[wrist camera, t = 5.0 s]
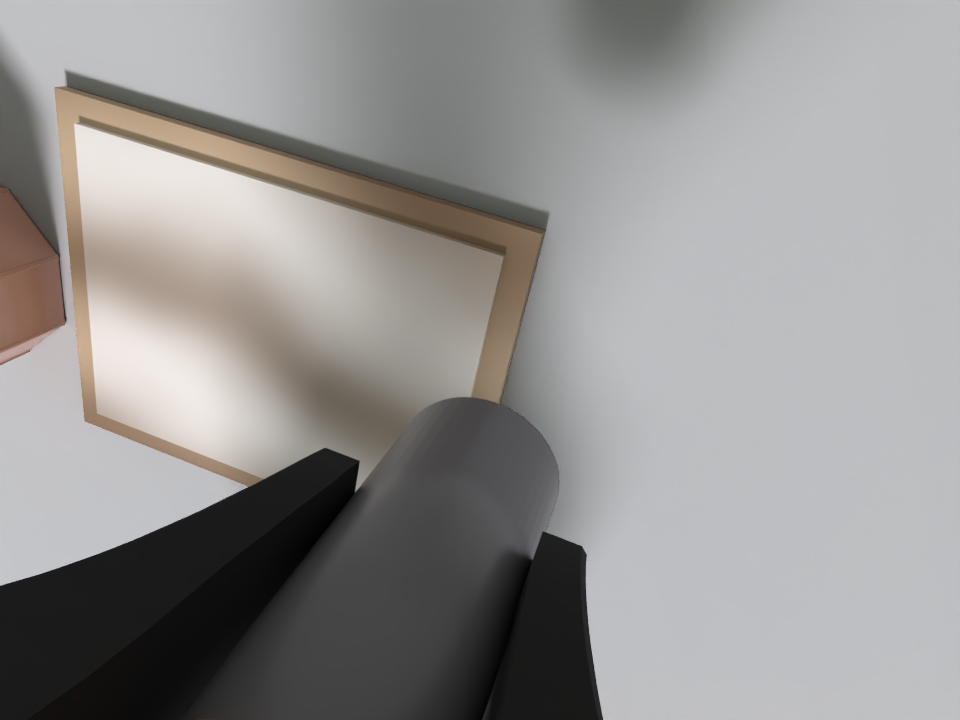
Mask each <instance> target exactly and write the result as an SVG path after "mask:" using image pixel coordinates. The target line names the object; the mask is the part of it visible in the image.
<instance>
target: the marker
mask: <svg viewBox="0 0 960 720" xmlns="http://www.w3.org/2000/svg"><path fill="white" fill-rule="evenodd" d="M558 492H559V471H558V467H557V463H556V460H555V457H554V454H553V452H552V450H551V449H550V447H549V445H548V443H547V442H546V440H545V439H544V437H543V436H542V435H541V434H540V432H539V431H538V430H537V429H536V428H535V427H534V426H533V425H532V424H531V423H530V422H529V421H527V420H526V419H525V418H524V417H522V416H521V415H519V414H518V413H516V412H515V411H513V410H511V409H509V408H507V407H505V406H503V405H501V404H498V403H496V402H492V401H489V400H486V399H480V398H474V397H456V398H449V399H444V400H441V401H438V402H436V403H433V404H431V405H429V406H428V407H426V408H424V409H423V410H422V411H421V412H419V413H418V414H417V415H416V416H415V417H414V418H413V419H412V421H411V422H410V423H409V425H408V426H407V427H406V428H405V430H404V431H403V432H402V433H401V435H400V436H399V437H398V439H397V440H396V441H395V442H394V444H393V445H392V446H391V447H390V449H389V450H388V451H387V453H386V454H385V455H384V456H383V458H382V459H381V460H380V462H379V463H378V464H377V465H376V467H375V468H374V469H373V470H372V472H371V473H370V474H369V476H368V477H367V478H366V479H365V481H364V482H363V483H362V484H361V486H360V487H359V488H358V490H357V491H356V492H355V493H354V495H353V496H352V497H351V498H350V500H349V501H348V502H347V504H346V505H345V506H344V507H343V509H342V510H341V511H340V513H339V514H338V515H337V516H336V518H335V519H334V520H333V521H332V523H331V524H330V525H329V527H328V528H327V529H326V530H325V532H324V533H323V534H322V535H321V537H320V538H319V539H318V541H317V542H316V543H315V544H314V546H313V547H312V548H311V550H310V551H309V552H308V553H307V555H306V556H305V557H304V558H303V560H302V561H301V562H300V564H299V565H298V566H297V567H296V569H295V570H294V571H293V572H292V574H291V575H290V576H289V578H288V579H287V580H286V581H285V583H284V584H283V585H282V586H281V588H280V589H279V590H278V592H277V593H276V594H275V595H274V597H273V598H272V599H271V601H270V602H269V603H268V604H267V606H266V607H265V608H264V609H263V611H262V612H261V613H260V615H259V616H258V617H257V618H256V620H255V621H254V622H253V623H252V625H251V626H250V627H249V629H248V630H247V631H246V632H245V634H244V635H243V636H242V638H241V639H240V640H239V641H238V643H237V644H236V645H235V646H234V648H233V649H232V650H231V652H230V653H229V654H228V655H227V657H226V658H225V659H224V660H223V662H222V663H221V664H220V666H219V667H218V668H217V669H216V671H215V672H214V673H213V674H212V676H211V677H210V678H209V680H208V681H207V682H206V683H205V685H204V686H203V687H202V689H201V690H200V691H199V692H198V694H197V695H196V696H195V697H194V699H193V700H192V701H191V703H190V704H189V705H188V706H187V708H186V709H185V710H184V711H183V713H182V714H181V715H180V717H179V718H178V719H177V720H482V719H483V716H484V713H485V710H486V707H487V704H488V701H489V698H490V696H491V693H492V690H493V687H494V684H495V681H496V678H497V675H498V672H499V669H500V666H501V663H502V659H503V656H504V652H505V649H506V645H507V642H508V638H509V634H510V630H511V626H512V622H513V618H514V614H515V610H516V607H517V604H518V601H519V598H520V595H521V592H522V590H523V587H524V584H525V581H526V578H527V575H528V572H529V569H530V566H531V563H532V560H533V558H534V555H535V552H536V549H537V546H538V543H539V540H540V537H541V535H542V532H543V531H544V532H546V530H547V527H548V524H549V521H550V518H551V515H552V512H553V509H554V506H555V503H556V500H557V496H558Z"/></svg>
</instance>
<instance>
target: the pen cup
mask: <svg viewBox="0 0 960 720" xmlns="http://www.w3.org/2000/svg"><path fill="white" fill-rule="evenodd" d="M63 325H65V318H64V308H63V298H62V288H61V278H60V268H59V256H58V254H56V252H55V251H54V250H53V248H52V247H51V246H50V245H49V243H48V242H47V241H46V239H45V238H44V237H43V235H42V234H41V233H40V231H39V230H38V229H37V227H36V226H35V225H34V223H33V222H32V221H31V219H30V218H29V217H28V215H27V214H26V213H25V211H24V210H23V209H22V207H21V206H20V205H19V203H18V202H17V201H16V200H15V198H14V197H13V196H12V194H11V193H10V190H8V189H7V188H2V187H0V365H2V364H4V363H6V362H8V361H10V360H12V359H15V358H17V357H19V356H21V355H23V354H25V353H28V352H30V349H32V348H33V347H34V346H36V345H37V344H38V343H39V342H41V341H42V340H43V339H45V338H46V337H47V336H49V335H50V334H51V333H52V332H54V331H55V330H56V329H58V328H59V327H61V326H63Z"/></svg>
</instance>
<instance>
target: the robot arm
mask: <svg viewBox="0 0 960 720" xmlns="http://www.w3.org/2000/svg"><path fill="white" fill-rule="evenodd" d="M359 464H360V461H359V460H356V459H354V458H351V457H349V456H346V455H343V454H341V453H338V452H336V451H333V450H330V449H328V448H323V449H321V450H319V451H317V452H315V453H313V454H311V455H309V456H307V457H305V458H303V459H301V460H299V461H297V462H295V463H294V464H292V465H290V466H288V467H286V468H284V469H282V470H280V471H278V472H276V473H275V474H273V475H271V476H269V477H267V478H265V479H263V480H261V481H259V482H257V483H255V484H253V485H251V486H249V487H248V488H246V489H243V490H241V491H239V492H237V493H235V494H233V495H231V496H229V497H227V498H225V499H223V500H221V501H219V502H217V503H215V504H213V505H211V506H209V507H207V508H205V509H203V510H201V511H199V512H196V513H194V514H192V515H190V516H188V517H185V518H183V519H181V520H179V521H176V522H174V523H172V524H169V525H167V526H165V527H163V528H160V529H158V530H156V531H154V532H151V533H149V534H147V535H144V536H142V537H140V538H137V539H135V540H133V541H130V542H128V543H125V544H123V545H120V546H118V547H115V548H113V549H110V550H107V551H105V552H102V553H100V554H97V555H94V556H91V557H89V558H86V559H83V560H80V561H77V562H74V563H72V564H69V565H66V566H63V567H60V568H57V569H54V570H51V571H48V572H45V573H42V574H39V575H36V576H32V577H29V578H25V579H22V580H19V581H15V582H12V583H8V584H5V585H2V586H0V720H177V719H178V718H179V717H180V715H181V714H182V713H183V711H184V710H185V709H186V708H187V706H188V705H189V704H190V703H191V701H192V700H193V699H194V697H195V696H196V695H197V694H198V692H199V691H200V690H201V689H202V687H203V686H204V685H205V683H206V682H207V681H208V680H209V678H210V677H211V676H212V674H213V673H214V672H215V671H216V669H217V668H218V667H219V666H220V664H221V663H222V662H223V660H224V659H225V658H226V657H227V655H228V654H229V653H230V652H231V650H232V649H233V648H234V646H235V645H236V644H237V643H238V641H239V640H240V639H241V638H242V636H243V635H244V634H245V632H246V631H247V630H248V629H249V627H250V626H251V625H252V623H253V622H254V621H255V620H256V618H257V617H258V616H259V615H260V613H261V612H262V611H263V609H264V608H265V607H266V606H267V604H268V603H269V602H270V601H271V599H272V598H273V597H274V595H275V594H276V593H277V592H278V590H279V589H280V588H281V586H282V585H283V584H284V583H285V581H286V580H287V579H288V578H289V576H290V575H291V574H292V572H293V571H294V570H295V569H296V567H297V566H298V565H299V564H300V562H301V561H302V560H303V558H304V557H305V556H306V555H307V553H308V552H309V551H310V550H311V548H312V547H313V546H314V544H315V543H316V542H317V541H318V539H319V538H320V537H321V535H322V534H323V533H324V532H325V530H326V529H327V528H328V527H329V525H330V524H331V523H332V521H333V520H334V519H335V518H336V516H337V515H338V514H339V513H340V511H341V510H342V509H343V507H344V506H345V505H346V504H347V502H348V501H349V500H350V498H351V497H352V496H353V495H354V493H355V489H356V482H357V476H358V470H359ZM586 557H587V555H586V553H585V551H584V549H583V547H582V546H580V545H577V544H575V543H572V542H569V541H567V540H564V539H562V538H559V537H556V536H554V535H551V534H549V533H546V532H544V531H543V532H542V535H541V537H540V540H539V543H538V546H537V549H536V552H535V555H534V558H533V560H532V563H531V566H530V569H529V572H528V575H527V578H526V581H525V584H524V587H523V590H522V592H521V595H520V598H519V601H518V604H517V607H516V610H515V614H514V618H513V622H512V626H511V630H510V634H509V638H508V642H507V645H506V649H505V652H504V656H503V659H502V663H501V666H500V669H499V672H498V675H497V678H496V681H495V684H494V687H493V690H492V693H491V696H490V698H489V701H488V704H487V707H486V710H485V713H484V716H483V719H482V720H603V717H602V712H601V706H600V701H599V695H598V690H597V684H596V677H595V671H594V664H593V657H592V650H591V644H590V635H589V626H588V615H587V602H586Z"/></svg>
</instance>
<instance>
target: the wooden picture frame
mask: <svg viewBox="0 0 960 720" xmlns="http://www.w3.org/2000/svg"><path fill="white" fill-rule="evenodd" d="M55 99H56V110H57V121H58V132H59V143H60V154H61V165H62V176H63V187H64V198H65V209H66V220H67V231H68V242H69V253H70V264H71V275H72V286H73V297H74V308H75V319H76V331H77V342H78V353H79V364H80V375H81V386H82V397H83V408H84V419H85V421H86V422H88V423H91V424H93V425H96V426H98V427H101V428H103V429H106V430H108V431H111V432H113V433H116V434H118V435H121V436H123V437H126V438H128V439H131V440H133V441H136V442H138V443H141V444H143V445H146V446H148V447H151V448H153V449H156V450H158V451H161V452H163V453H166V454H168V455H171V456H173V457H176V458H179V459H181V460H184V461H186V462H189V463H191V464H194V465H196V466H199V467H201V468H204V469H206V470H209V471H211V472H214V473H216V474H219V475H221V476H224V477H226V478H229V479H231V480H234V481H236V482H239V483H241V484H244V485H246V486H251V485H253V484H255V483H257V482H259V481H261V480H263V479H265V478H267V477H269V476H271V475H273V474H275V473H276V472H278V471H280V470H282V469H284V468H286V467H288V466H290V465H292V464H294V463H295V462H297V461H299V460H301V459H303V458H305V457H307V456H309V455H311V454H313V453H315V452H317V451H319V450H321V449H323V448H328V449H330V450H333V451H336V452H338V453H341V454H343V455H346V456H349V457H351V458H354V459H356V460H359V461H360V464H359V470H358V476H357V482H356V489H355V492H356V491H357V490H358V488H359V487H360V486H361V484H362V483H363V482H364V481H365V479H366V478H367V477H368V476H369V474H370V473H371V472H372V470H373V469H374V468H375V467H376V465H377V464H378V463H379V462H380V460H381V459H382V458H383V456H384V455H385V454H386V453H387V451H388V450H389V449H390V447H391V446H392V445H393V444H394V442H395V441H396V440H397V439H398V437H399V436H400V435H401V433H402V432H403V431H404V430H405V428H406V427H407V426H408V425H409V423H410V422H411V421H412V419H413V418H414V417H415V416H416V415H417V414H418V413H419V412H421V411H422V410H423V409H424V408H426V407H428V406H429V405H431V404H433V403H436V402H438V401H441V400H444V399H449V398H456V397H474V398H480V399H486V400H489V401H492V402H496V403H498V404H500V401H501V397H502V393H503V390H504V386H505V382H506V378H507V375H508V371H509V367H510V363H511V359H512V356H513V352H514V348H515V344H516V341H517V337H518V333H519V329H520V325H521V322H522V318H523V314H524V310H525V306H526V303H527V299H528V295H529V291H530V288H531V284H532V280H533V276H534V272H535V269H536V265H537V261H538V257H539V254H540V250H541V246H542V242H543V238H544V235H545V231H546V230H542V229H539V228H536V227H532V226H529V225H526V224H522V223H519V222H516V221H512V220H509V219H506V218H502V217H499V216H496V215H492V214H489V213H486V212H482V211H479V210H476V209H472V208H469V207H466V206H462V205H459V204H456V203H452V202H449V201H446V200H442V199H439V198H436V197H432V196H429V195H426V194H422V193H419V192H416V191H412V190H409V189H406V188H402V187H399V186H396V185H392V184H389V183H386V182H382V181H379V180H376V179H372V178H369V177H366V176H362V175H359V174H356V173H352V172H349V171H346V170H342V169H339V168H336V167H332V166H329V165H326V164H322V163H319V162H316V161H312V160H309V159H306V158H302V157H299V156H296V155H292V154H289V153H286V152H282V151H279V150H276V149H272V148H269V147H266V146H262V145H259V144H256V143H252V142H249V141H246V140H242V139H239V138H236V137H232V136H229V135H226V134H222V133H219V132H216V131H212V130H209V129H206V128H202V127H199V126H196V125H192V124H189V123H186V122H182V121H179V120H176V119H172V118H169V117H166V116H162V115H159V114H156V113H152V112H149V111H146V110H142V109H139V108H136V107H132V106H129V105H126V104H122V103H119V102H116V101H113V100H109V99H106V98H103V97H99V96H96V95H93V94H89V93H86V92H83V91H79V90H76V89H73V88H69V87H66V86H65V87H55Z"/></svg>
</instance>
